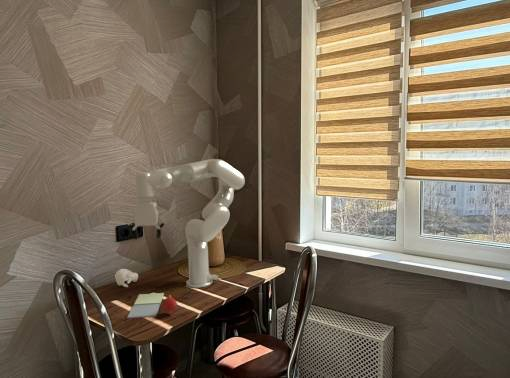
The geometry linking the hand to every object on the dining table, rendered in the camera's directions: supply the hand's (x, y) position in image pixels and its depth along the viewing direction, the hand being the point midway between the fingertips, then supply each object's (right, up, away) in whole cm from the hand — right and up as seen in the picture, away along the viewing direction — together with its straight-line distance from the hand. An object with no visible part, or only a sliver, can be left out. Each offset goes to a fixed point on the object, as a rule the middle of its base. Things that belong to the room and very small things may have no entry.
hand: (147, 238), depth 175 cm
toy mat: (+3, -28, -14) cm, 32 cm away
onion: (+14, -28, -18) cm, 36 cm away
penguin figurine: (-15, -25, +19) cm, 34 cm away
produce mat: (+1, -27, -2) cm, 27 cm away
